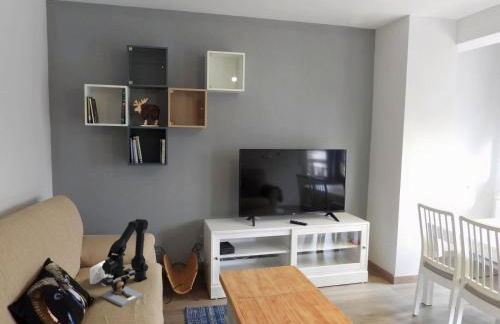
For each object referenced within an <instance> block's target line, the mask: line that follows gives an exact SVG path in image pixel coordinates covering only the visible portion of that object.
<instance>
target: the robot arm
mask: <svg viewBox="0 0 500 324" xmlns="http://www.w3.org/2000/svg"><path fill="white" fill-rule="evenodd" d="M148 225H149V222H148V220H147V219H144V218H136V219H134V220H131V221H129V222H128V224H127V226H126V228H125V229H124V231H123V232H122V234H121V235H120V237H119V238H118V239H117V240H115V241H114V242H113V244H111V246H110V248H109V251H108V253H107V256H106V259H105V260H104V261H105V262H104V263H103V265H102V269H103V270H104V272H105V275H106V274H108V275H110V274H111V276H113V277H111V278H110V277H105V278H103V279H102V280H100V283H101V285H102V284H104V285H106V286H105V287H107V286H108V287H109V286H110V287H111V289H113V291H114V292H116V287H117V283H116V282H115V281H117V280H118V279H120V280H122V281H124V285H123V286H122V289H124V287H126V284H127V282H128V281H129V280H130V277H133V276H134V278H133V280H134V281H136V282H138V283H141V282H143V281H145V280H147V279H148V277H147V271H148V270H149V265H148V264H147V263H146V258H145V256H144V248H145V247H144V243H145V232H146V231H147V230H148ZM134 232H135V234H136V235H135V236H136V237H135V248H134V249H135V250H134V256H133V258H131V263H130V265H131V266H130V267H131V268H126V266H124V257H125V256H126V253H125V252H126V249H127V243H128V242H129V240H130V238H131V237H132V235H133V234H134ZM104 285H103V286H104Z"/></svg>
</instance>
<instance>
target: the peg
mask: <svg viewBox="0 0 500 324" xmlns="http://www.w3.org/2000/svg"><path fill="white" fill-rule="evenodd" d="M115 282H116V283H117V287H116V293H115V295H116V296H117V295H119V296H121V297H122V295H123V293H122V286H123V285H124V281H122V280H121V279H119V280H115Z"/></svg>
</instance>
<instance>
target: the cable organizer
mask: <svg viewBox="0 0 500 324" xmlns="http://www.w3.org/2000/svg"><path fill="white" fill-rule="evenodd" d="M104 262H105V260H102V261H100V262H99V263H97V264H95V265H93V266H91V267H90V269H89V284H90V285H97V284H98V283H100V282H101V280H102V279H103V278H105V277H110V278H111V277H113V276H111V274H110V275H108V274H106V275H105V272H104V270H103V269H102V265H103V263H104ZM101 285H102V286H103V287H104V286H105V287H107V286H106V285H104V284H102V283H101Z"/></svg>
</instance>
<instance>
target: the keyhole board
mask: <svg viewBox="0 0 500 324" xmlns="http://www.w3.org/2000/svg"><path fill="white" fill-rule="evenodd" d="M122 292H123V293H122V294H123V295H124V294H125V295H124V296H126V295H127V297H128V298H124V297H122V295H121V296H119V295H117V296H116V293H115V292H114V291H113V289H112V288H111V289H109V290H107V291H105V292H103V293H100V296H101V297H102V298H104V299H106V300H108V301H110V302H112V303H114V304H116V305H118V306H120V307H125V306H128V305H129V304H131V303H133V302H135V301H137V300H139V299H142V298H143V297H144V294H143V293H141V292H139V291H136V290H135V289H132V288H130V287H128V286H125V287H124V289H122ZM113 293H114V294H113Z"/></svg>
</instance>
